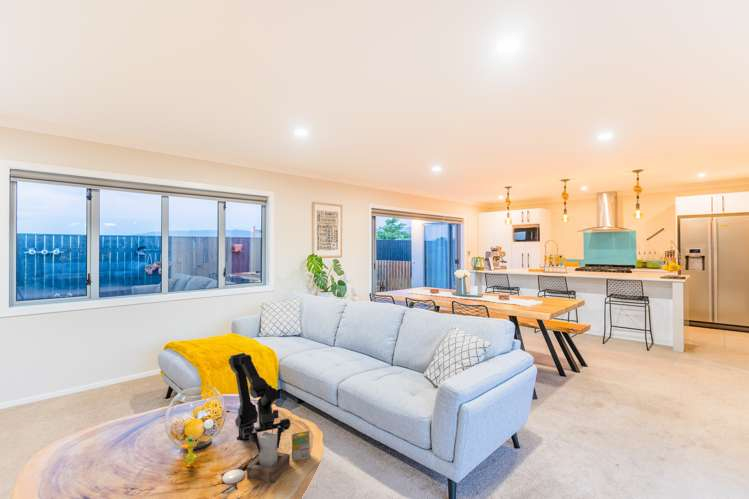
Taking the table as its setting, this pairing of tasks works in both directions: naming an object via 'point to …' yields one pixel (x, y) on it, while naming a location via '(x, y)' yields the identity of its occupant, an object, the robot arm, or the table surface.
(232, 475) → the ceramic coaster
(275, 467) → the walnut holder block
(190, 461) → the toy figure
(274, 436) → the skincare box
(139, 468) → the table surface
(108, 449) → the table surface
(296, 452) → the crayon box
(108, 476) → the table surface
